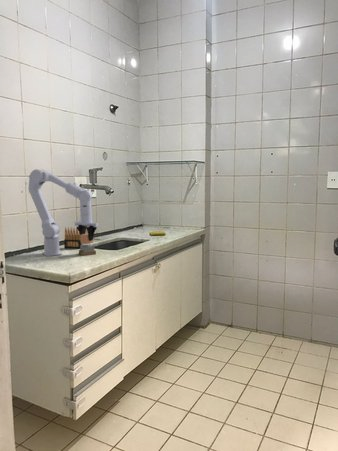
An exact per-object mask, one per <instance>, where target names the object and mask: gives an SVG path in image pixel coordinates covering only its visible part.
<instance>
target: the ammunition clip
mask: <svg viewBox="0 0 338 451" xmlns="http://www.w3.org/2000/svg"><path fill="white" fill-rule="evenodd" d="M63 242H64V243H63V244H64V246H63V247H64V249H75V250H80V245H83V244H82V243H81V240H80V233H79V231H78V229H77V227H73V228H72V227H64V241H63Z"/></svg>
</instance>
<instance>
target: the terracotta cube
mask: <svg viewBox="0 0 338 451" xmlns="http://www.w3.org/2000/svg"><path fill="white" fill-rule="evenodd" d="M80 240H81V243H82V245H88V244H93V243H94V239H93V240H91V241H89V238H88V233H86V234H82V235H80Z"/></svg>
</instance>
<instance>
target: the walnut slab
mask: <svg viewBox="0 0 338 451" xmlns="http://www.w3.org/2000/svg"><path fill="white" fill-rule="evenodd" d="M96 252H97V251H96V250H95V249H94V251H87V252H83V251H81V250H80V249H78V254H79V255H80V256H82V257H85V256H86V257H87V256H94V255H96V254H97V253H96Z"/></svg>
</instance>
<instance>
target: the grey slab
mask: <svg viewBox="0 0 338 451" xmlns="http://www.w3.org/2000/svg"><path fill="white" fill-rule="evenodd" d="M79 250H81V251H83V252H87V251H94V250H95V245H92V243H90V244H82V245H80V249H79Z"/></svg>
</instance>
